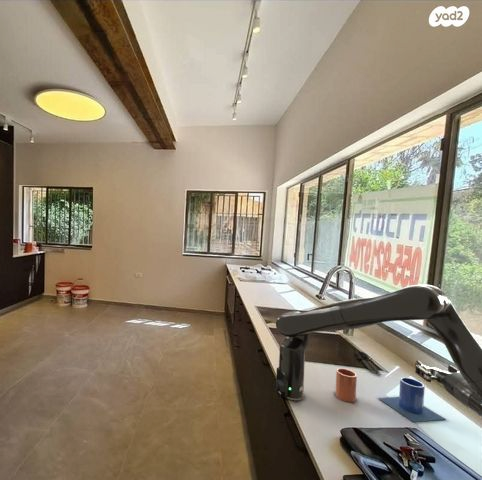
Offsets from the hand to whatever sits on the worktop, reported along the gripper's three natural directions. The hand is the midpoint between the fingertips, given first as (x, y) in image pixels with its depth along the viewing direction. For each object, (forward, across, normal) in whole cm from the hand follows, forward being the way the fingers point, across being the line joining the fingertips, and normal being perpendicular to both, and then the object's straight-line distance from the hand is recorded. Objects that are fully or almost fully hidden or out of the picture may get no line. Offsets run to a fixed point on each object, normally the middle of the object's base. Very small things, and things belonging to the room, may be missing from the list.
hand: (433, 365), depth 89 cm
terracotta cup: (+11, +21, +22) cm, 32 cm away
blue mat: (+11, 0, +22) cm, 25 cm away
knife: (+47, 0, +22) cm, 52 cm away
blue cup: (+11, 0, +22) cm, 24 cm away
